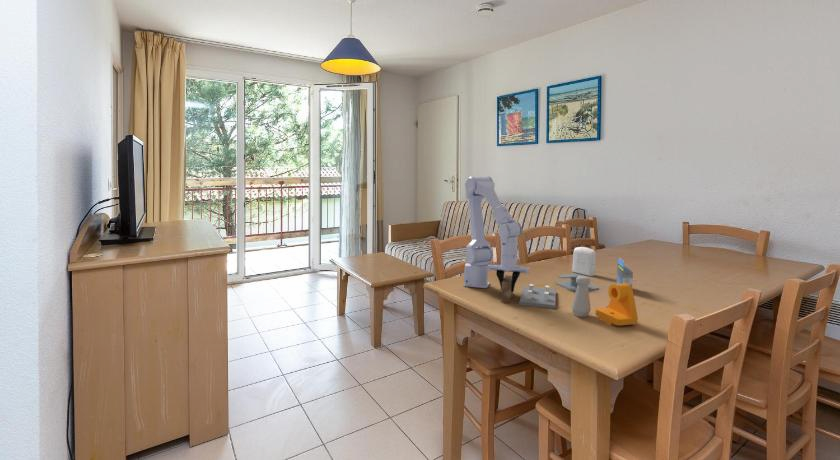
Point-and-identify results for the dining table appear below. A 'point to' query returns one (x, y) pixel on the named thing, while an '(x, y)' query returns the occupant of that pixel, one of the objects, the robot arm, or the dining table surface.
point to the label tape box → (624, 274)
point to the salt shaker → (582, 297)
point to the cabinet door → (506, 289)
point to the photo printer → (584, 261)
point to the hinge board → (538, 297)
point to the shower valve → (573, 282)
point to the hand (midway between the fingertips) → (507, 290)
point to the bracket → (619, 306)
